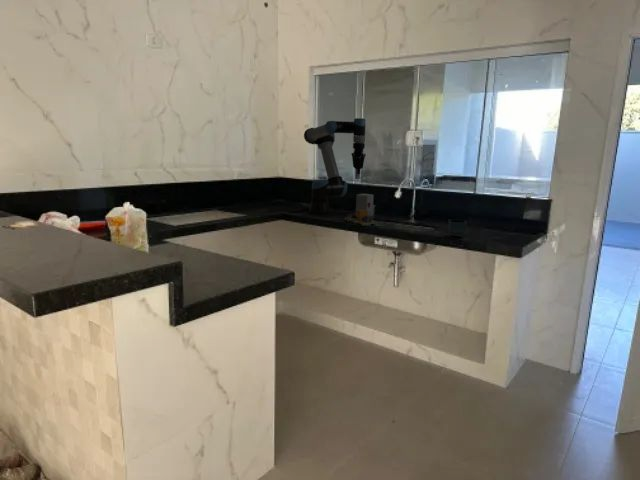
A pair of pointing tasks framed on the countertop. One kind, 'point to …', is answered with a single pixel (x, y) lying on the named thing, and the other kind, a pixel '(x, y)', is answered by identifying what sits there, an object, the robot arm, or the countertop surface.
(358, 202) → the supplement box
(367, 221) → the cord board
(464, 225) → the flower pot
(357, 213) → the sleeve
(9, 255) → the countertop surface
